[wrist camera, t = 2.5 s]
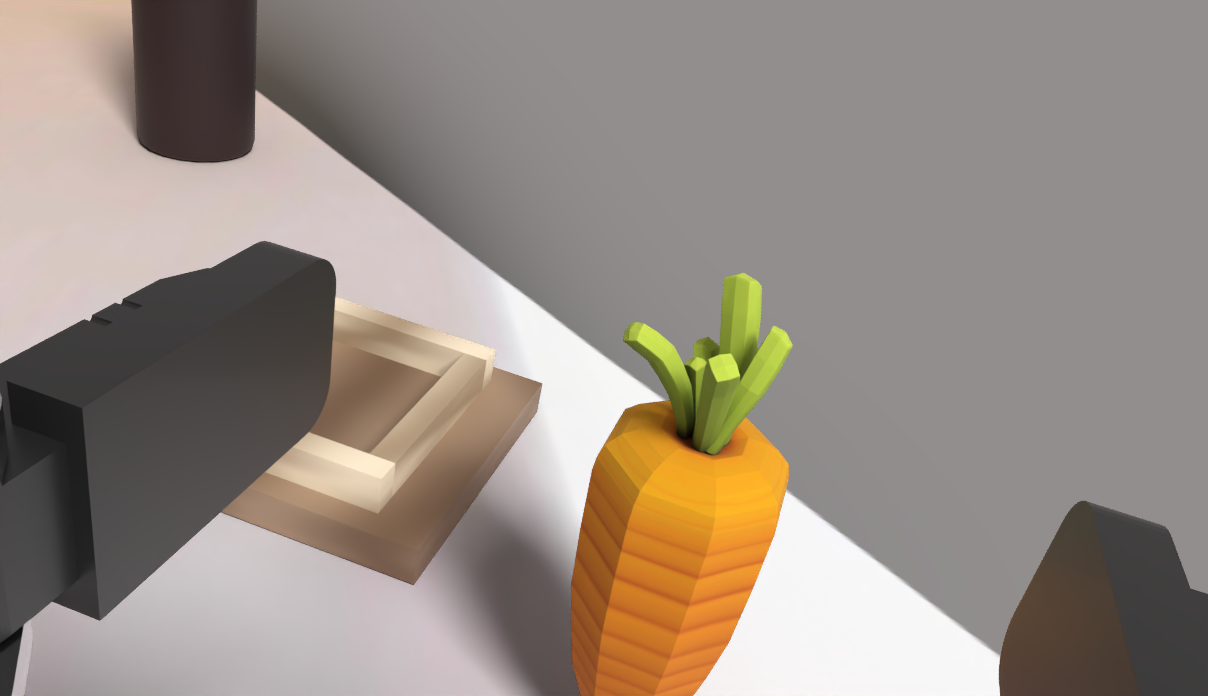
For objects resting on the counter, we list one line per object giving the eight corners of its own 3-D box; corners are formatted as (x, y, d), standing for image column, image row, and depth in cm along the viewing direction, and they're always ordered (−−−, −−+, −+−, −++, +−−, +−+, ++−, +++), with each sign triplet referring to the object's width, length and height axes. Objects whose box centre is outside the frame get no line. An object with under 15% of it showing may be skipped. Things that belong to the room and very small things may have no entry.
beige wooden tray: (60, 450, 35) (53, 381, 34) (257, 316, 45) (258, 258, 44) (413, 584, 33) (422, 516, 31) (536, 411, 43) (548, 354, 42)
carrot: (623, 854, 26) (782, 385, 19) (494, 735, 28) (589, 277, 21) (725, 748, 30) (891, 319, 22) (603, 650, 32) (716, 234, 25)
